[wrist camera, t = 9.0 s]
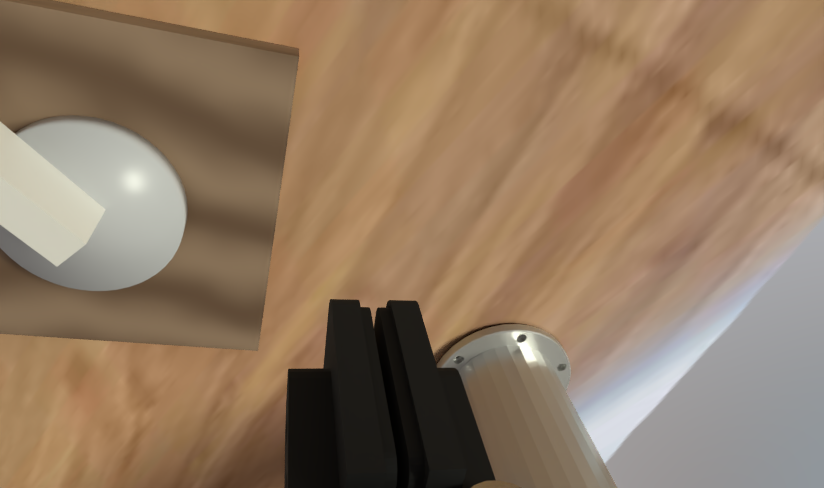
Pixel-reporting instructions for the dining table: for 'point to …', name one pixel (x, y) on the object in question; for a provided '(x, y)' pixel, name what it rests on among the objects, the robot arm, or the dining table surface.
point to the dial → (88, 203)
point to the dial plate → (181, 144)
